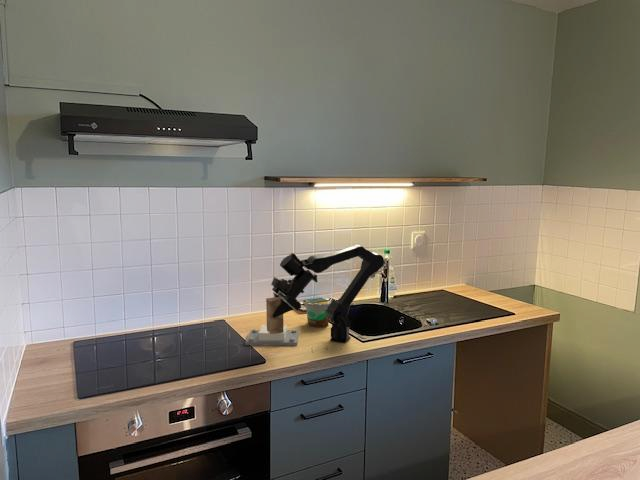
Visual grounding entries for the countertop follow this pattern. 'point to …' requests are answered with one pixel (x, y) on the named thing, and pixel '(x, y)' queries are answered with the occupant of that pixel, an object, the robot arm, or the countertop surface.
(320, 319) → the food container
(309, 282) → the robot arm
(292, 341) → the base brick
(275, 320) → the walnut brick
